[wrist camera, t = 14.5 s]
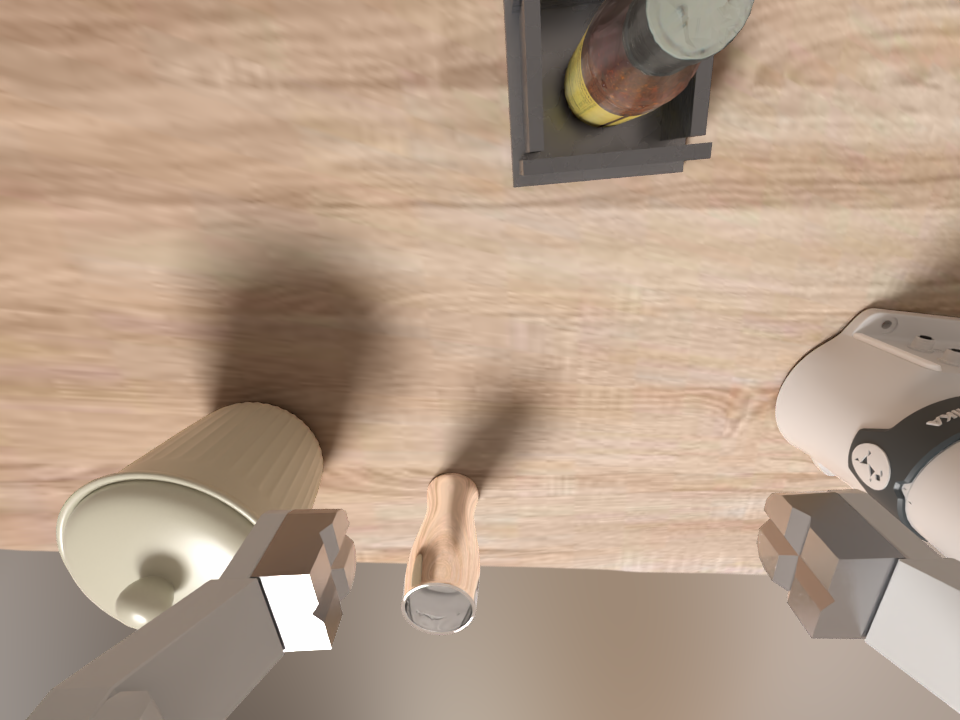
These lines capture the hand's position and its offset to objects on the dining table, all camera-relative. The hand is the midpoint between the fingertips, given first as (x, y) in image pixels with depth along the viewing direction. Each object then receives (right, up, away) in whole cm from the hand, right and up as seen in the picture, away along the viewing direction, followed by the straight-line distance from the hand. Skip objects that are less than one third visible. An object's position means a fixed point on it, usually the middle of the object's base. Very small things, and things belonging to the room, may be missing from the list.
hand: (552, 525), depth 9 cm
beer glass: (-5, -12, +44) cm, 46 cm away
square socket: (+8, +25, +27) cm, 38 cm away
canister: (-25, -6, +42) cm, 49 cm away
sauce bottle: (+8, +25, +26) cm, 37 cm away
